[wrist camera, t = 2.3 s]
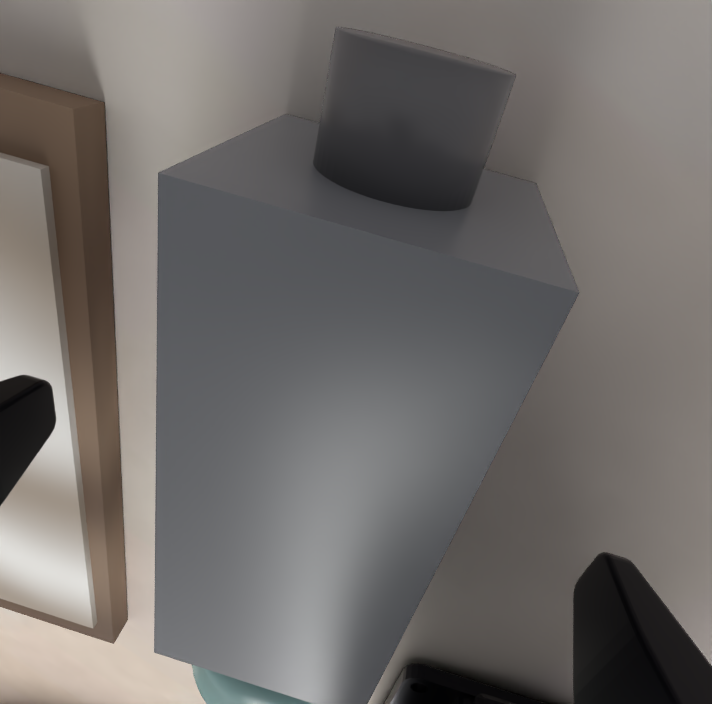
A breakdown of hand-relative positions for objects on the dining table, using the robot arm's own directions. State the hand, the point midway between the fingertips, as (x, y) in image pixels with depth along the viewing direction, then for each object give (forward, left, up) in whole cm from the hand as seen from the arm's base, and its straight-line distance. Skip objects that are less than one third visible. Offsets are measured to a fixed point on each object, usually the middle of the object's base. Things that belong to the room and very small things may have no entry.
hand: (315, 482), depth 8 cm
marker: (0, 0, -3) cm, 3 cm away
